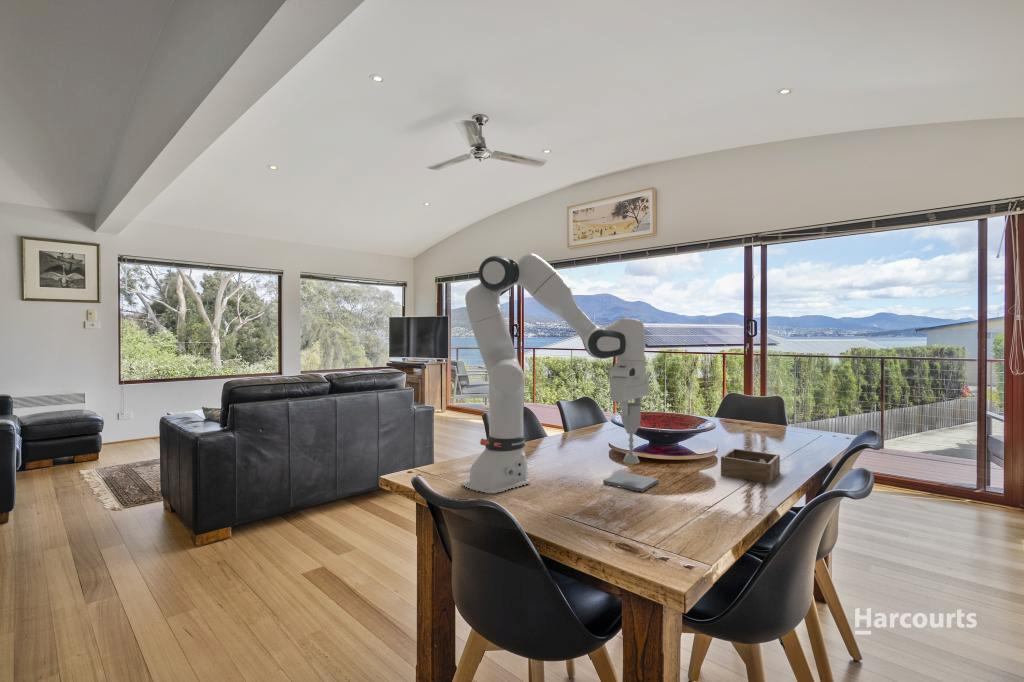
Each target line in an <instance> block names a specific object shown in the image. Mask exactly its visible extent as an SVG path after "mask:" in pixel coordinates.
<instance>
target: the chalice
mask: <svg viewBox="0 0 1024 682" xmlns="http://www.w3.org/2000/svg"><path fill="white" fill-rule="evenodd" d="M642 406H643V404H642V403H641V404H639V403H634V402H628V404H627V407H628V409H629V415H622V414H621V421H622V425H623V427H624V429H625V432H626V433H627V434H628V435H629V439H628V442H629V444H628V447H629V452H627V453H626V454H624V455H625V456H624V457H623V458H624V459H623V460H622V462H623V463H626V464H630V465H633V464H635V465H637V464H639V463H640V459H639V458H638V455H637V454H636V453H634V447H635V446H634V440H635V439H634V438H633V436H634V434H636V433H637V431H638V429H639V427H640V423H641V421H642V415H641V411H642V410H641V409H642Z"/></svg>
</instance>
